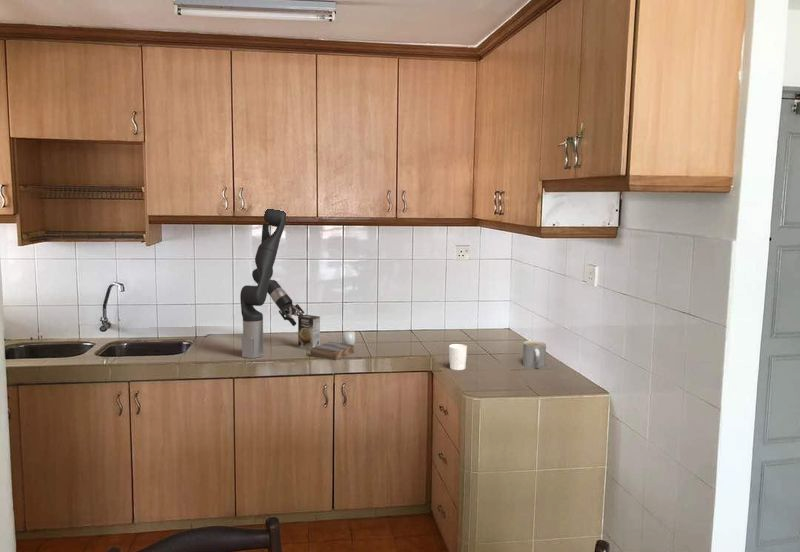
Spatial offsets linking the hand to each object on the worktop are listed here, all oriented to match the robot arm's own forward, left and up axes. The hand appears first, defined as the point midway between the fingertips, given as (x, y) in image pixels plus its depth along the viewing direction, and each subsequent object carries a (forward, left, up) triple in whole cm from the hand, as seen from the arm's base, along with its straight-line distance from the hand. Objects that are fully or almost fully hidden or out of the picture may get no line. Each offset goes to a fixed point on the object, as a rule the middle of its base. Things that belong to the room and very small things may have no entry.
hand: (300, 323), depth 321 cm
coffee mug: (+22, -112, -12) cm, 115 cm away
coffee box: (0, -5, -12) cm, 13 cm away
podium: (-5, -22, -12) cm, 26 cm away
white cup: (+2, -84, -12) cm, 85 cm away
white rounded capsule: (+10, -22, -12) cm, 27 cm away
